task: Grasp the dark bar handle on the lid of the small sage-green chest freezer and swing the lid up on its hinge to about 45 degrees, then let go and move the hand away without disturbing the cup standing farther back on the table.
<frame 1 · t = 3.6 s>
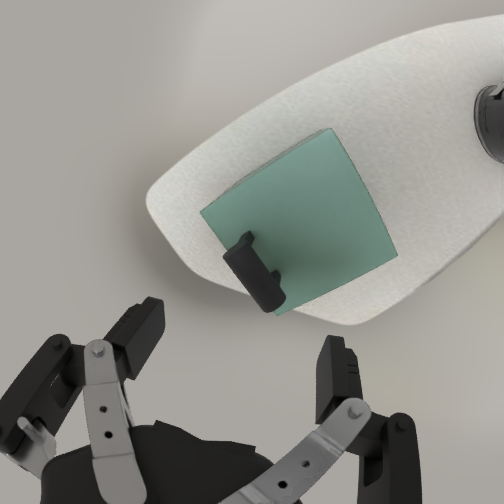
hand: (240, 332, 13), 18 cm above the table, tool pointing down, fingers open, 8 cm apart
freezer: (304, 199, 27), on the table
freezer lid: (302, 242, 17), point 11 cm above the table, hinge at 0.0°
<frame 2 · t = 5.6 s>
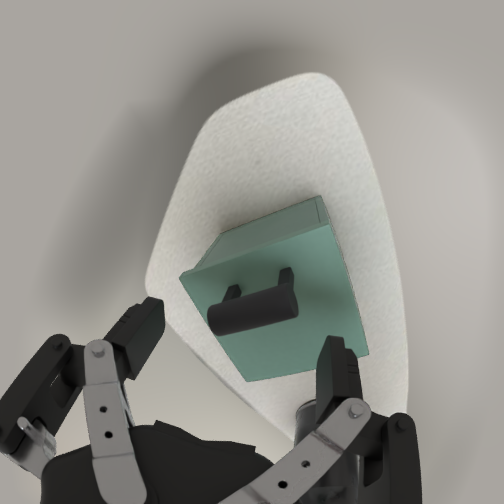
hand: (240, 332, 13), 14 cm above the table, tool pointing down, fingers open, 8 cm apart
freezer: (288, 262, 26), on the table
freezer lid: (278, 338, 16), point 11 cm above the table, hinge at 0.0°
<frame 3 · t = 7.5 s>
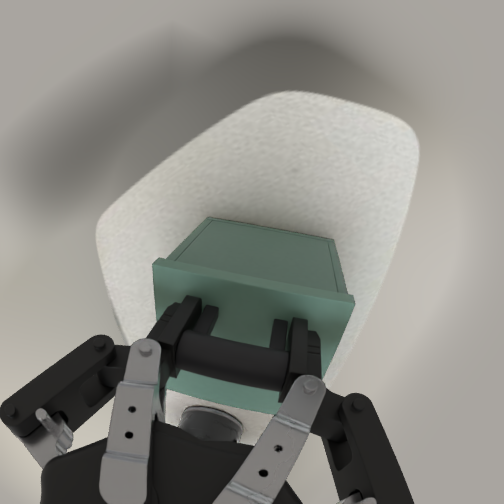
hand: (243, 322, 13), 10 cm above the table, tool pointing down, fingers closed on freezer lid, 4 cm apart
freezer: (261, 282, 24), on the table
freezer lid: (233, 381, 14), point 11 cm above the table, hinge at -0.1°, touching gripper
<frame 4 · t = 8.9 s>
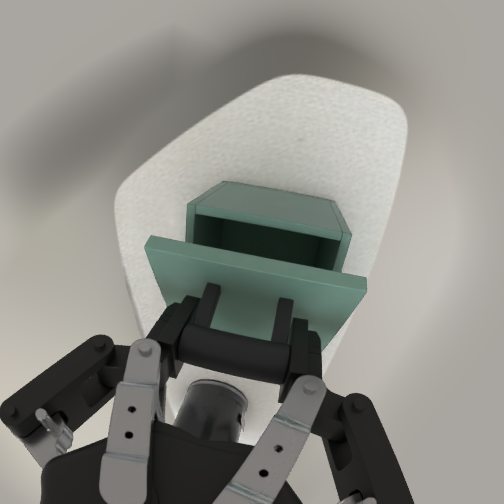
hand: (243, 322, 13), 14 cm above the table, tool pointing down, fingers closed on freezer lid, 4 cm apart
freezer: (270, 242, 26), on the table
freezer lid: (240, 349, 15), point 13 cm above the table, hinge at 25.2°, touching gripper
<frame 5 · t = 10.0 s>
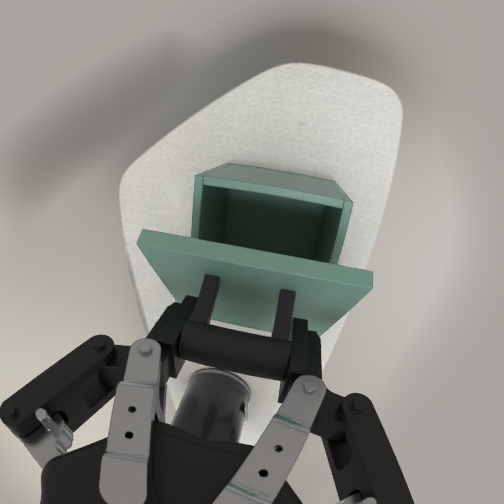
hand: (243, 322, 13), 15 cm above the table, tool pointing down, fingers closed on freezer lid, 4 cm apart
freezer: (272, 222, 26), on the table
freezer lid: (243, 333, 15), point 14 cm above the table, hinge at 37.3°, touching gripper
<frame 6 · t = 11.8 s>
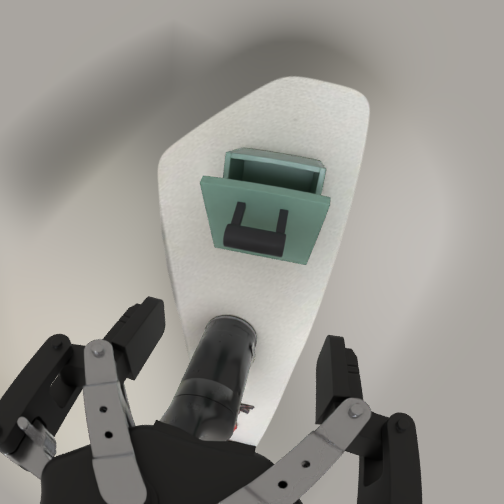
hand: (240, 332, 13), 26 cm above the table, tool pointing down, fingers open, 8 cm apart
freezer: (275, 190, 36), on the table
freezer lid: (257, 244, 24), point 14 cm above the table, hinge at 37.1°
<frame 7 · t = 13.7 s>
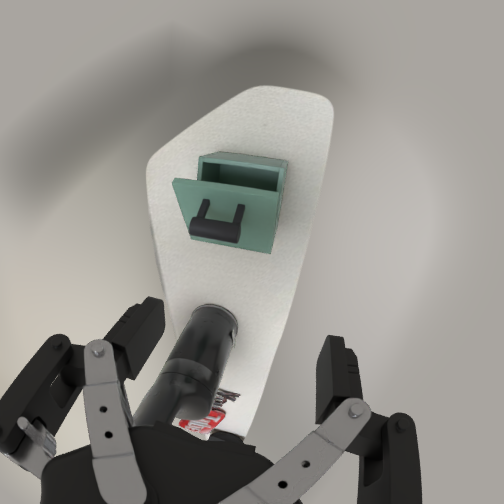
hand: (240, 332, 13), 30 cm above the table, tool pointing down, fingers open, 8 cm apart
logo: (189, 410, 62), point 4 cm above the table, touching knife
freezer: (248, 189, 40), on the table
freezer lid: (222, 235, 29), point 14 cm above the table, hinge at 37.1°
computer mouse: (225, 446, 68), point 4 cm above the table
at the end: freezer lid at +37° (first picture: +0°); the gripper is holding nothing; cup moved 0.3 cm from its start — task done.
